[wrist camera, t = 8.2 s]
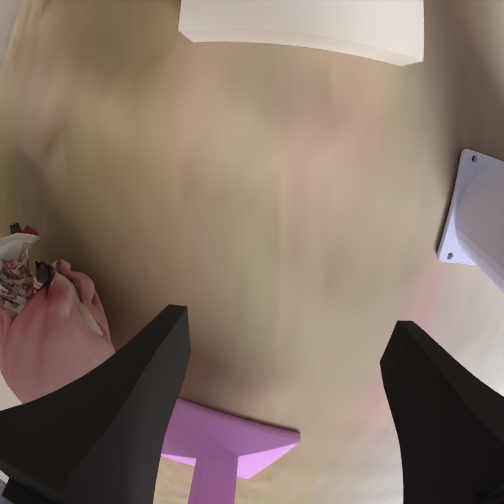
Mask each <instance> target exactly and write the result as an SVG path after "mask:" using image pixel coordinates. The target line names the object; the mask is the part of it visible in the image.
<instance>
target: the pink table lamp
mask: <svg viewBox="0 0 504 504" xmlns="http://www.w3.org/2000/svg"><path fill="white" fill-rule="evenodd" d="M300 442H301V440H300V433H297V432H293V431H288V430H284V429H280V428H275V427H271V426H267V425H263V424H260V423H256V422H252V421H249V420H245V419H242V418H238V417H235V416H231V415H228V414H225V413H222V412H218V411H215V410H212V409H209V408H206V407H203V406H200V405H198V404H195V403H192V402H189V401H186V400H184V399H181V398H178V399H177V401H176V404H175V407H174V410H173V413H172V416H171V419H170V421H169V424H168V427H167V431H166V434H165V438H164V442H163V447H162V452H161V456H164V457H167V458H170V459H173V460H176V461H179V462H182V463H185V464H189V465H192V466H195V469H194V474H193V479H192V484H191V490H190V495H189V500H188V504H234V498H235V488H236V478H237V477H240V478H244V479H249V478H250V477H252V476H253V475H255V474H256V473H258V472H259V471H261V470H262V469H264V468H265V467H267V466H268V465H270V464H271V463H273V462H274V461H275V460H277V459H278V458H280V457H281V456H282V455H284V454H285V453H286V452H288V451H289V450H290V449H292V448H293V447H294V446H296V445H297V444H298V443H300Z"/></svg>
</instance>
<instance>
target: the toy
mask: <svg viewBox="0 0 504 504" xmlns="http://www.w3.org/2000/svg"><path fill="white" fill-rule="evenodd" d="M10 229H11V235H10V236H6V237H4V238H1V239H0V370H1V373H2V375H3V377H4V379H5V381H6V383H7V385H8V386H9V388H10V389H11V390H12V391H13V393H14V394H15V395H16V396H17V397H18V399H19V400H20V401H21V402H22V403H23V404H25V403H27V402H30V401H33V400H35V399H38V398H40V397H42V396H45V395H47V394H49V393H51V392H54V391H56V390H58V389H60V388H62V387H63V386H65V385H67V384H69V383H71V382H73V381H74V380H76V379H78V378H80V377H82V376H83V375H85V374H87V373H88V372H90V371H91V370H93V369H94V368H96V367H97V366H99V365H100V364H101V363H103V362H104V361H105V360H107V359H108V358H109V357H111V356H112V355H113V354H114V353H115V349H114V346H113V345H112V343H111V338H110V331H109V327H108V323H107V319H106V316H105V313H104V309H103V307H102V304H101V302H100V299H99V297H98V294H97V292H96V290H95V288H94V283H93V281H92V280H91V278H89V277H88V276H87V275H86V274H85V273H84V272H83V271H82V272H83V273H80V272H74V271H70V264H69V263H67V262H66V261H64V260H62V259H61V272H62V274H58V273H57V272H56V269H55V268H56V263H57V261H55V262H54V263H53V264H52V265H51V266H50V265H49V264H48V265H49V267H48V265H47V264H46V263H43V266H40V264H41V265H42V263H41V262H40V263H38V262H36V261H35V263H36V267H37V269H36V271H35V273H34V276H33V277H32V276H31V275H30V272H29V266H28V261H29V258H28V251H29V250H30V249H31V248H32V246H33V245H34V244H35V243H36V242H37V241H38V240H39V239H40V237H41V236H40V235H39V234H38V232H36V231H35V230H34V229H33V228H31V227H30V226H28V225H27V226H26V227H25V229H24V231H22V230H21V228H20V226H19V224H18V223H16V224H13V225H11V226H10ZM41 261H42V260H41ZM42 262H43V261H42ZM38 267H39V268H38Z"/></svg>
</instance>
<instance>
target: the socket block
mask: <svg viewBox="0 0 504 504" xmlns="http://www.w3.org/2000/svg"><path fill="white" fill-rule="evenodd" d="M178 31H179V32H181V33H182V34H183V35H184V36H186V37H187V38H188V39H189V40H191V41H192V42H253V43H270V44H282V45H292V46H301V47H309V48H316V49H323V50H329V51H335V52H341V53H346V54H351V55H356V56H361V57H365V58H370V59H374V60H378V61H382V62H386V63H390V64H394V65H397V66H405V65H409V64H413V63H417V62H421V61H423V55H424V6H423V0H182V1H181V9H180V18H179V28H178Z"/></svg>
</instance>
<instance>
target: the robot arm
mask: <svg viewBox="0 0 504 504" xmlns="http://www.w3.org/2000/svg"><path fill="white" fill-rule="evenodd" d="M473 155H474V160H473V161H472V156H473ZM449 253H450V256H448V254H449ZM447 256H448V257H447ZM437 258H438V259H439V260H440V261H442V262H451V263H461V264H471V265H477V266H478V267H479V268H480V269H481V270H482V271H483V272H484V273H485V274H486V275H487V276H488V277H489V278H490V279H491V280H492V281H493V282H494V283H495V284H496V285H497V286H498V288H499V289H500V290H501V291H502V292H503V293H504V162H503V161H501V160H498V159H495V158H492V157H490V156H487V155H484V154H481V153H478V152H475V151H472V150H469V149H464V150H463V151H462V153H461V157H460V163H459V168H458V173H457V178H456V183H455V188H454V192H453V197H452V201H451V205H450V209H449V213H448V217H447V221H446V225H445V228H444V232H443V236H442V239H441V242H440V246H439V249H438V252H437ZM189 356H190V339H189V326H188V311H187V306H179V305H171V304H169V305H168V306H167V307H166V308H165V309H164V310H163V311H162V312H160V313H159V314H158V315H157V316H156V317H155V318H154V319H153V320H152V321H151V322H150V323H149V324H148V325H147V326H146V327H145V328H144V329H143V330H141V331H140V332H139V333H138V334H137V335H136V336H135V337H134V338H133V339H131V340H130V341H129V342H128V343H127V344H126V345H124V346H123V347H122V348H121V349H119V350H118V351H117V352H116V353H114V354H113V355H112V356H111V357H109V358H108V359H107V360H105V361H104V362H103V363H101V364H100V365H99V366H97V367H96V368H94V369H93V370H91V371H90V372H88V373H87V374H85V375H83V376H82V377H80V378H78V379H76V380H74V381H73V382H71V383H69V384H67V385H65V386H63V387H62V388H60V389H58V390H56V391H54V392H51V393H49V394H47V395H45V396H42V397H40V398H38V399H35V400H33V401H30V402H27V403H25V404H22V405H18V406H15V407H12V408H8V409H5V410H2V411H0V470H1V471H2V472H3V473H5V474H6V475H7V476H8V477H9V480H8V482H7V484H6V483H5V482H4V481H2V480H1V479H0V504H153V498H154V491H155V484H156V478H157V473H158V467H159V462H160V457H161V452H162V447H163V442H164V438H165V434H166V431H167V427H168V424H169V421H170V419H171V416H172V413H173V410H174V407H175V404H176V401H177V398H178V395H179V393H180V390H181V387H182V384H183V381H184V378H185V374H186V370H187V365H188V360H189ZM380 366H381V373H382V379H383V385H384V389H385V392H386V396H387V399H388V403H389V406H390V410H391V413H392V417H393V420H394V424H395V427H396V431H397V435H398V439H399V444H400V451H401V459H402V469H403V504H504V397H503V396H502V395H500V394H499V393H497V392H495V391H494V390H493V389H491V388H490V387H488V386H487V385H486V384H484V383H483V382H482V381H480V380H479V379H478V378H476V377H475V376H474V375H473V374H471V373H470V372H469V371H468V370H467V369H466V368H464V367H463V366H462V365H461V364H460V363H459V362H457V361H456V360H455V359H454V358H453V357H452V356H451V355H450V354H449V353H448V352H446V351H445V350H444V349H443V348H442V347H441V346H440V345H439V344H438V343H437V342H436V341H435V340H434V339H432V338H431V337H430V336H429V335H428V334H427V333H426V332H425V331H424V330H423V329H421V328H420V327H419V326H418V325H417V324H415V323H414V322H413V321H397V323H396V325H395V328H394V330H393V333H392V335H391V338H390V340H389V342H388V345H387V347H386V349H385V352H384V354H383V356H382V358H381V360H380Z"/></svg>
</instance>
